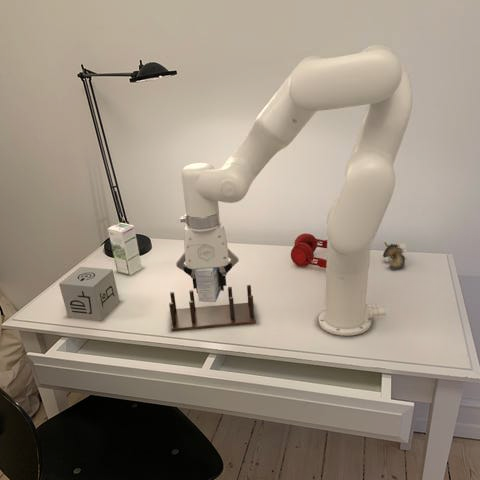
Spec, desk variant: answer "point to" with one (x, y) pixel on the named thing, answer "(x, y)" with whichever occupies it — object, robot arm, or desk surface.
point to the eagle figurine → (395, 255)
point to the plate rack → (212, 314)
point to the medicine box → (208, 284)
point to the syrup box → (125, 248)
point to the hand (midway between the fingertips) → (210, 288)
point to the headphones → (307, 251)
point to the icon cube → (89, 293)
